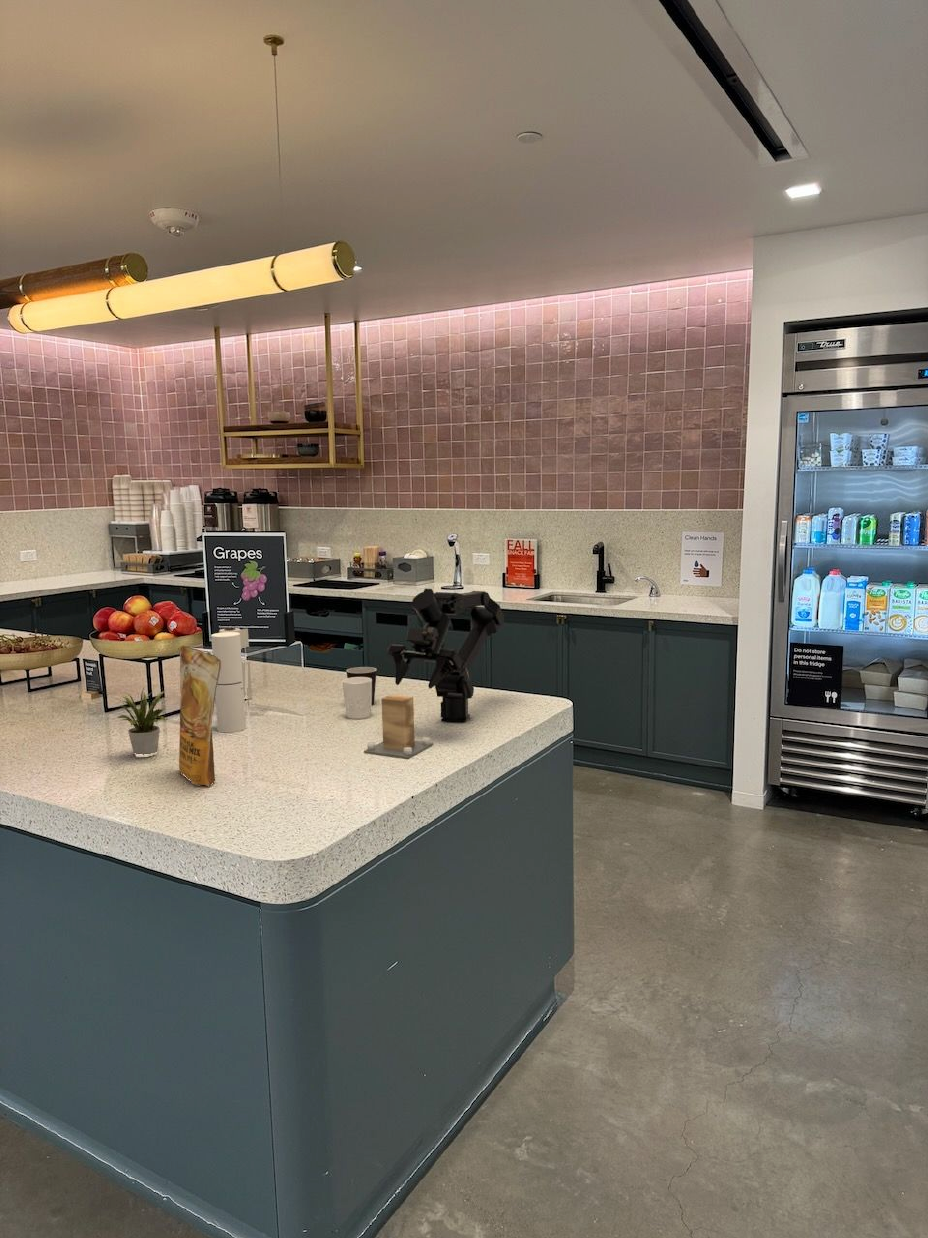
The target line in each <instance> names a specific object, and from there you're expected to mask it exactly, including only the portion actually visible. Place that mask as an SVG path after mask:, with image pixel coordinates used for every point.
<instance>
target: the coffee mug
mask: <svg viewBox="0 0 928 1238" xmlns="http://www.w3.org/2000/svg"><path fill="white" fill-rule="evenodd" d="M377 671H378V670H377V668H376V667H371V666H359V667H350V668H347V669H346V671H345V672H346V677H347V678H352V677H368V678H371V679H372V706H374V705H375V699H376V698H375V697H376V695H375V694H376V687H377V686H376V685H377V684H376V683H377ZM347 678H346V679H347Z"/></svg>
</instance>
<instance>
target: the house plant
mask: <svg viewBox="0 0 928 1238" xmlns="http://www.w3.org/2000/svg"><path fill="white" fill-rule="evenodd" d="M144 690H145V687H143V688H142V691H141V692H140V693H141V694H140V707H139V708H137V706H136V703H135V701H134V699H133V697H132V696H131V694H129V693H127V692H125V694H126V695H125V694H122V698H123V699H124V701H122V700H120V699H119V698H117V697H114V696H112V698H113V699H117V700H119V702H120V703H122V704H123V705H120V707H121V708H122V709H123V708H124V709H125V711H127V713H128V714H129V716H130V717H129V716H127V715H126V714H119V715H118V716H117V718H116V719H120V720H119V721H128V722H129V723H130V727H131V728H129V729H128V731H127V732H128V736H129V740H130V744H131V749H132V752H133V754H134V753H136V754H143V755H144V754H151V753H155V752H157V751H159V740H160V739H159V738H160V727H159V726H157V725H154V724H155V723H156V724H158V719H161V720H163V721H164V722H166V718H165V716H163V715H161V714H162V713H163V712H164V710H165V708H161V709H160V708H158V709H156V710H154V709H155V706H157V703H159V701H160V700H161V697H162V695H163V694H164V693H165V692H166V691H167V690H163V691H161V692H160V693H158V695H156V696H155V698H154V699H153V701H152V702H151V703H150V701H149V702H148V700H147V699H148V697H149V696H150V695H151V694H152V693H153V691H152V692H150V693H149V694H148V695H147V694H146V693H145V692H144ZM127 695H128V696H129V697H128V696H127ZM146 695H147V696H146ZM129 698H130V699H129ZM163 698H167V696H164V697H162V699H163ZM148 703H150V705H149V707H148V710H147V706H148ZM126 704H127V705H128V706H129V707H130V708H131V709H132V710H131V709H130V708H129V707H128V706H127V705H126ZM124 705H125V706H124ZM153 710H154V711H153ZM132 711H133V712H132ZM121 718H122V719H121ZM132 726H133V727H132Z"/></svg>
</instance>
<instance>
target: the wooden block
mask: <svg viewBox="0 0 928 1238" xmlns="http://www.w3.org/2000/svg"><path fill="white" fill-rule="evenodd" d="M414 706H415V705H414V696H412V695H410V696H409V695H402V694H401V695H400V694H394V693H393V694H392V693H391V694H388V695H387V696H384V697H382V698H381V721H382V723H381V724H382V725H381V726H382V742H383V748H387V749H395V750H402V751H404V748H405V747H411V748H412V747H413V746H415V741H416V740H415V738H416V737H415V710H414V708H415V707H414Z"/></svg>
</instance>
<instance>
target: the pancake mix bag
mask: <svg viewBox="0 0 928 1238" xmlns="http://www.w3.org/2000/svg"><path fill="white" fill-rule="evenodd" d="M178 652H179V665H180V666H179V670H180V673H179V675H180V677H179V678H180V682H179V683H180V687H179V688H180V701H179V703H180V705H179V708H180V709H179V711H180V712H179V747H178V748H179V749H178V750H179V751H178V752H179V754H178V769H179V771H180V772H181V773H182V774H184V775H185V776H186V777H187V778H188V779H190V780H191V781H192V782H193V783H194V784H196V785H206V786H205V787H207V786H208V788H209V786H210V785H211V784H212V783H214V781H215V782H216V776H215V761H214V759H215V758H214V757H215V756H214V743H213V730H212V724H213V723H212V722H213V715H214V709H215V702H216V699H215V694H216V687H217V683H218V679H219V674H220V669H221V661H220V660H219V659H218V658H217V657H216V656H214V655H213V653H212V654H211V653H207V652H205V651H202V650H200V649H197V648H194V647H191V646H185V645H181V646H179V647H178ZM181 773H180V774H181ZM188 779H187V780H188ZM194 784H193V785H194ZM214 784H215V783H214ZM211 786H212V785H211ZM211 786H210V787H211Z"/></svg>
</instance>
